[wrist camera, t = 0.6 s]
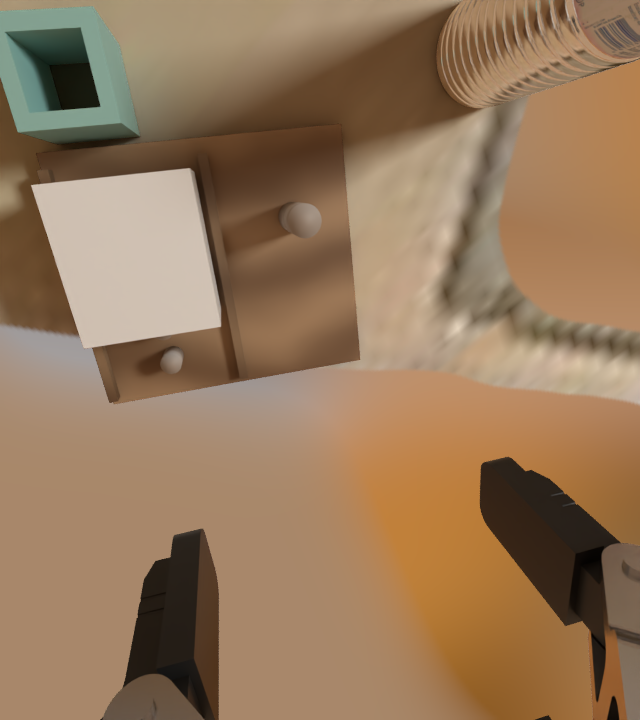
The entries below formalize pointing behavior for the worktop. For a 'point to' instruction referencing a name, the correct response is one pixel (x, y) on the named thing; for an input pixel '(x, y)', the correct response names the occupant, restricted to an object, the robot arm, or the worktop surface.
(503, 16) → the water bottle
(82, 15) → the sleeve
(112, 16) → the worktop surface
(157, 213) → the white rectangular block
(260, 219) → the board
